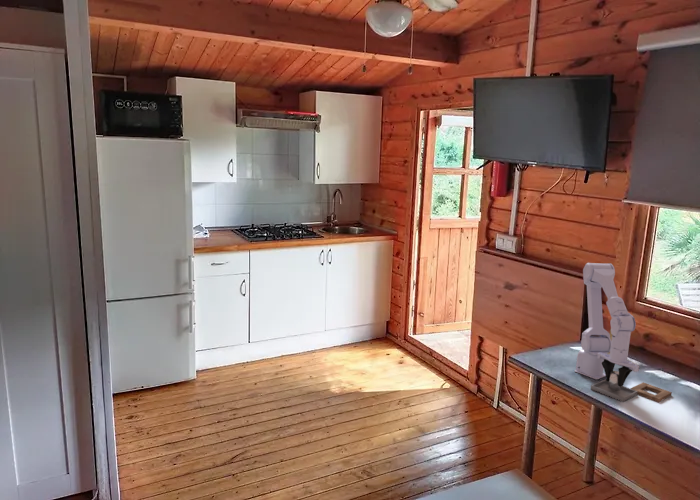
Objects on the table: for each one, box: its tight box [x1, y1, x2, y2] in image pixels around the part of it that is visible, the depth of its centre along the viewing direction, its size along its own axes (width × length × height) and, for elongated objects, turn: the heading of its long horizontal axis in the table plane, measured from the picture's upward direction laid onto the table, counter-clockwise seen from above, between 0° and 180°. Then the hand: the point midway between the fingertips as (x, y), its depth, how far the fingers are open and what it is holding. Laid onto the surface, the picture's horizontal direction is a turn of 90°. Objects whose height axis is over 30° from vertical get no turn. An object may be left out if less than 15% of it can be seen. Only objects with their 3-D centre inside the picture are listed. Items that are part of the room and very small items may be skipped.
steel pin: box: [608, 370, 621, 391], centre depth 191 cm, size 4×4×6 cm
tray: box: [590, 379, 638, 403], centre depth 192 cm, size 12×10×2 cm
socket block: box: [630, 381, 673, 403], centre depth 192 cm, size 10×10×1 cm
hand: (614, 383), depth 191 cm, fingers closed on steel pin, 4 cm apart
